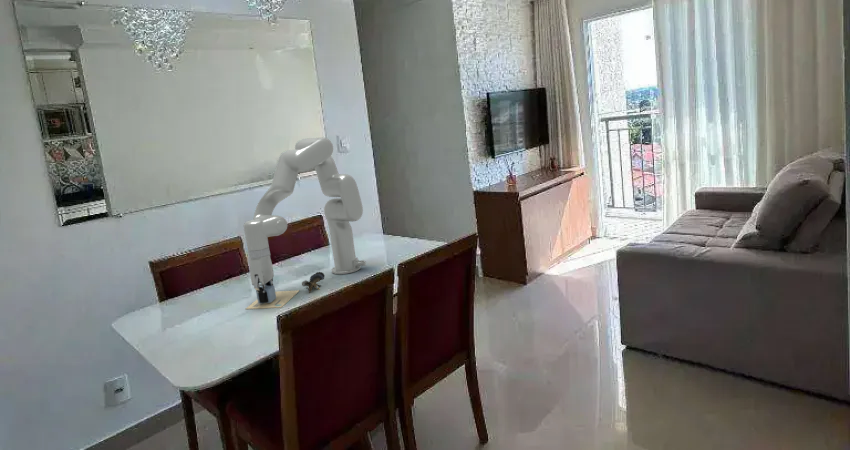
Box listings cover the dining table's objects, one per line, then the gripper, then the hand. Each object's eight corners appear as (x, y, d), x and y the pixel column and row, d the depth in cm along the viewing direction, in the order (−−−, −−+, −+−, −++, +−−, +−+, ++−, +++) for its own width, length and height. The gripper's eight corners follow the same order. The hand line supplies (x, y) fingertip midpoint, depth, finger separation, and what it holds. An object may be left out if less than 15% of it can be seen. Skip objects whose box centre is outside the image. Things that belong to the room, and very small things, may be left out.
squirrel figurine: (323, 289, 210) (329, 278, 219) (310, 276, 209) (317, 265, 217) (309, 299, 213) (316, 288, 221) (296, 287, 212) (304, 275, 220)
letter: (299, 290, 216) (299, 290, 216) (281, 307, 198) (281, 306, 198) (266, 292, 218) (266, 292, 218) (245, 309, 201) (245, 308, 201)
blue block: (276, 297, 207) (274, 285, 206) (270, 302, 203) (268, 289, 202) (263, 298, 208) (261, 286, 207) (258, 303, 203) (256, 290, 202)
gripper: (259, 247, 210) (267, 292, 214) (238, 260, 194) (247, 308, 198) (278, 246, 209) (285, 291, 213) (258, 258, 193) (267, 307, 197)
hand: (267, 299), depth 205 cm, fingers closed on blue block, 4 cm apart
